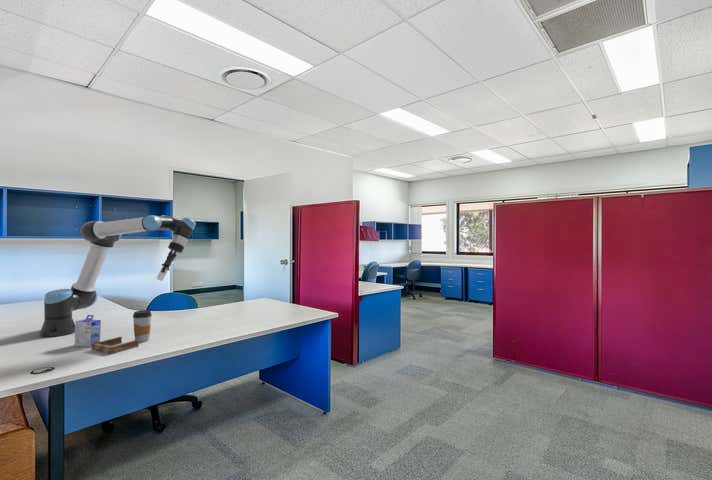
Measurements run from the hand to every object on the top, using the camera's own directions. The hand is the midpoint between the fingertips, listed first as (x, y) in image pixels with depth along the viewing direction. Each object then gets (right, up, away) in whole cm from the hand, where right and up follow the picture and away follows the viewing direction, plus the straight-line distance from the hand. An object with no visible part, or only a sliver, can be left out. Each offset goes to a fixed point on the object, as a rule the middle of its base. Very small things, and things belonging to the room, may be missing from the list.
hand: (159, 279), depth 192 cm
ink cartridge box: (-26, -31, -18) cm, 44 cm away
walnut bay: (-9, -31, -22) cm, 39 cm away
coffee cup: (-4, -31, -9) cm, 32 cm away
